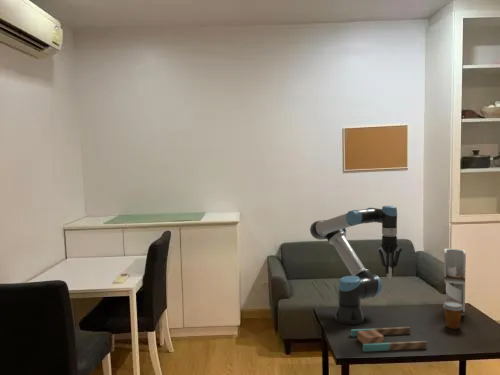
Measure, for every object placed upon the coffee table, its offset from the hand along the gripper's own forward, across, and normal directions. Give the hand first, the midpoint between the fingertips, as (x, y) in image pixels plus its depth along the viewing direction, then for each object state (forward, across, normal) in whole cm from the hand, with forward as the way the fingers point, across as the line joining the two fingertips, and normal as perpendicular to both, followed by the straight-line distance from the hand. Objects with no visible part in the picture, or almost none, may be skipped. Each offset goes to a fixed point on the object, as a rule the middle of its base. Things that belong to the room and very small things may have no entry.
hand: (389, 279), depth 234 cm
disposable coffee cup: (+25, +32, -7) cm, 41 cm away
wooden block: (+25, -18, -21) cm, 37 cm away
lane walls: (+24, -4, -21) cm, 33 cm away
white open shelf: (+25, +44, +15) cm, 53 cm away
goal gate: (+24, -18, -22) cm, 37 cm away
